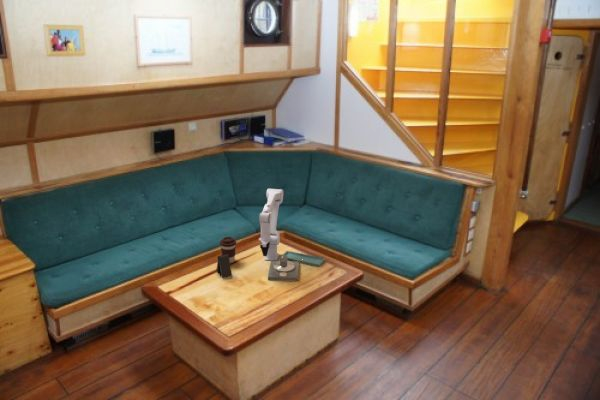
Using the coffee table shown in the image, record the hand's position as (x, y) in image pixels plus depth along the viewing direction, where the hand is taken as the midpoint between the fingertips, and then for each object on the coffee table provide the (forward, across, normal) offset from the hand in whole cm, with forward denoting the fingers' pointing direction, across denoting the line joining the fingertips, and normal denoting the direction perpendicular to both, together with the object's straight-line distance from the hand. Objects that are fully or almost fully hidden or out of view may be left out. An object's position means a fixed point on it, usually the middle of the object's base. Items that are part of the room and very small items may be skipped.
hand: (265, 253), depth 291 cm
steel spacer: (+7, +1, +11) cm, 13 cm away
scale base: (+10, +3, +11) cm, 16 cm away
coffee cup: (+10, -9, -24) cm, 28 cm away
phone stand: (+11, +7, -24) cm, 27 cm away
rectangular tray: (+11, -13, +22) cm, 28 cm away
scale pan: (+8, +1, +11) cm, 14 cm away
